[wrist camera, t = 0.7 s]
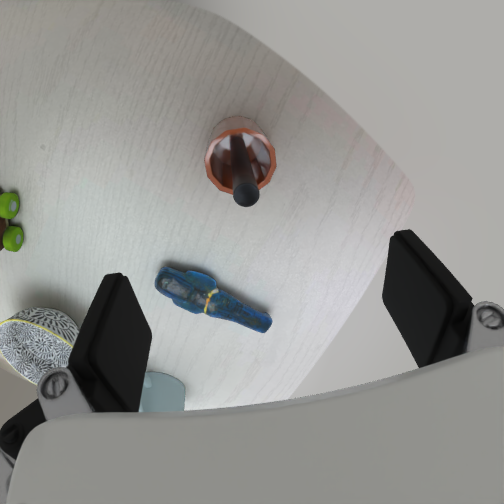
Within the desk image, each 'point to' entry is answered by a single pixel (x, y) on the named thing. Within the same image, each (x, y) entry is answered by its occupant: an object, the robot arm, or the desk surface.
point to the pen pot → (221, 159)
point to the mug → (161, 393)
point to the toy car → (4, 234)
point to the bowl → (37, 341)
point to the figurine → (208, 298)
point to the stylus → (242, 174)
